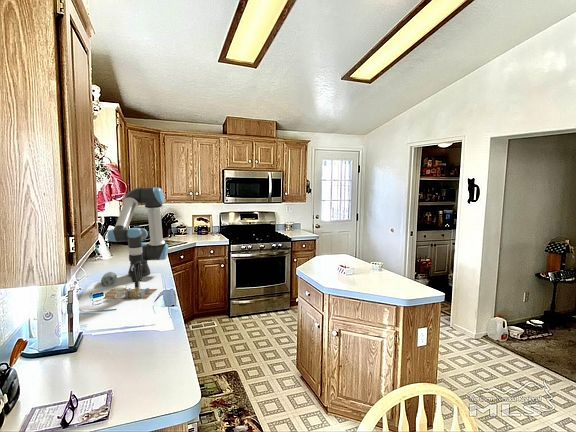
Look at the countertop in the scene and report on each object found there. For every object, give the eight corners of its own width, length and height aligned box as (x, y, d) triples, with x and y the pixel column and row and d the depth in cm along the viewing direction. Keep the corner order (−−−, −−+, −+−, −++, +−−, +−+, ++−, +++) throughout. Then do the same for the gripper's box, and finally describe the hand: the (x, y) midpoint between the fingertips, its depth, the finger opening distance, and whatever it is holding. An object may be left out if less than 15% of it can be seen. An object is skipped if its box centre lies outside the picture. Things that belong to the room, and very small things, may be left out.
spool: (115, 282, 228) (108, 269, 229) (102, 290, 227) (94, 276, 227) (122, 281, 242) (116, 268, 242) (109, 288, 240) (102, 275, 241)
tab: (133, 295, 211) (133, 288, 211) (140, 295, 211) (139, 288, 211) (129, 298, 206) (129, 291, 206) (136, 298, 206) (136, 291, 206)
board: (112, 290, 223) (112, 288, 223) (157, 290, 223) (157, 288, 223) (96, 300, 205) (96, 298, 205) (146, 300, 205) (146, 299, 205)
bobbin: (117, 294, 212) (117, 285, 211) (129, 294, 212) (128, 285, 211) (112, 299, 205) (111, 289, 204) (123, 299, 205) (123, 289, 204)
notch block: (129, 293, 214) (129, 287, 214) (149, 293, 214) (149, 287, 214) (123, 298, 206) (122, 292, 206) (143, 298, 206) (143, 292, 206)
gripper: (134, 251, 216) (136, 288, 219) (124, 256, 203) (126, 295, 206) (146, 251, 216) (148, 288, 219) (137, 256, 203) (139, 295, 206)
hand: (137, 292), depth 212 cm, fingers closed
